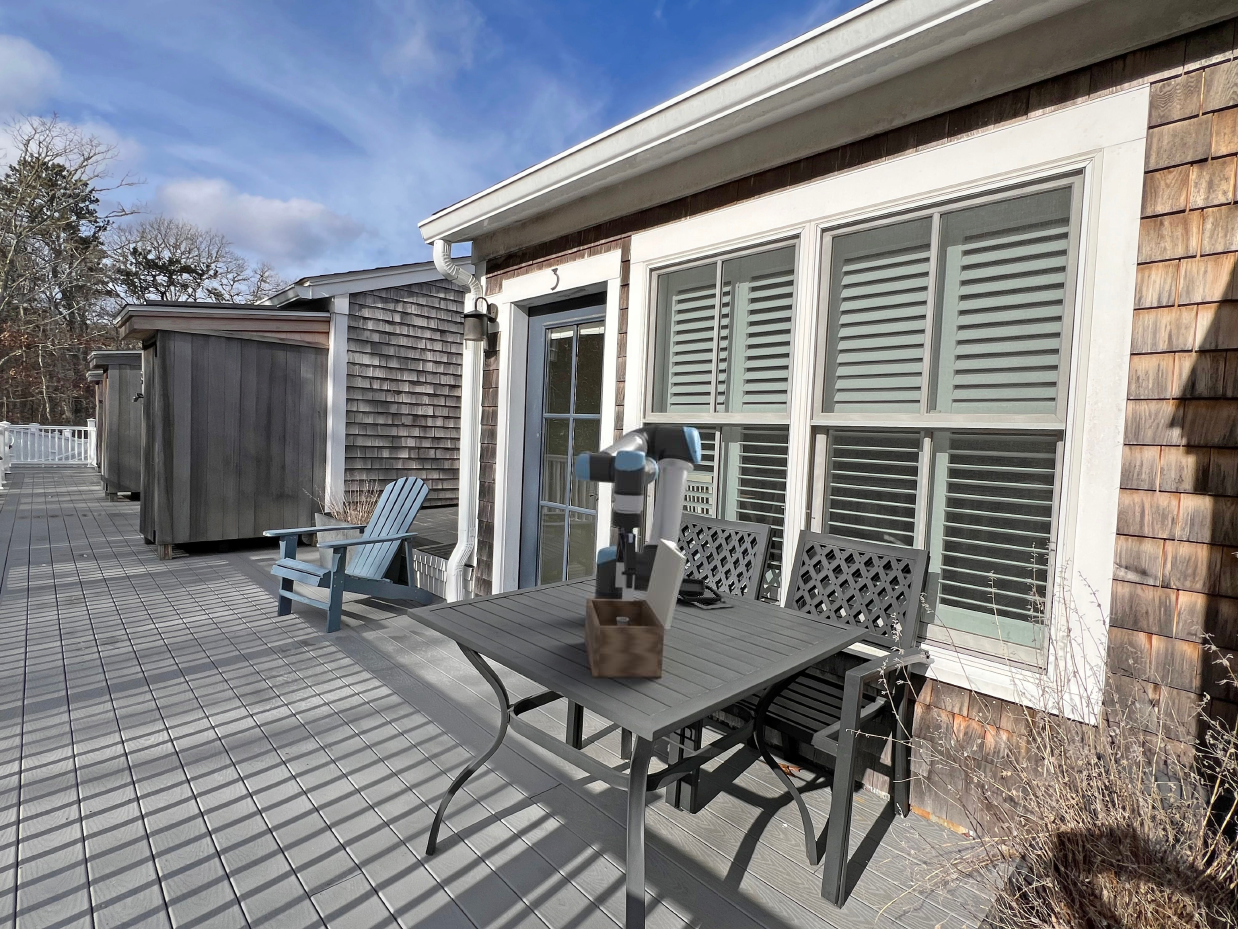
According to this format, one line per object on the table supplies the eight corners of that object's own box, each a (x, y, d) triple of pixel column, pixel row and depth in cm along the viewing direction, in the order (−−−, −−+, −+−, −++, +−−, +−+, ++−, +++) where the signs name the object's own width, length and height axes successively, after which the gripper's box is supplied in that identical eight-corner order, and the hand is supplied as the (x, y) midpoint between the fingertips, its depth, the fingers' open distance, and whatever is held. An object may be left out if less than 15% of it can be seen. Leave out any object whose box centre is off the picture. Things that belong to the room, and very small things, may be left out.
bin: (643, 642, 181) (645, 600, 180) (661, 677, 155) (664, 628, 154) (584, 642, 179) (586, 598, 178) (592, 677, 153) (595, 627, 152)
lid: (645, 599, 181) (649, 600, 181) (664, 628, 154) (669, 629, 154) (659, 538, 181) (663, 539, 181) (681, 557, 153) (686, 558, 154)
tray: (746, 606, 229) (747, 591, 229) (699, 614, 215) (700, 599, 214) (686, 588, 253) (687, 574, 252) (641, 594, 238) (641, 580, 238)
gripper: (607, 504, 177) (604, 581, 178) (619, 517, 152) (615, 606, 154) (635, 505, 178) (631, 582, 179) (651, 518, 153) (646, 607, 155)
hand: (624, 593), depth 166 cm, fingers open, 13 cm apart
